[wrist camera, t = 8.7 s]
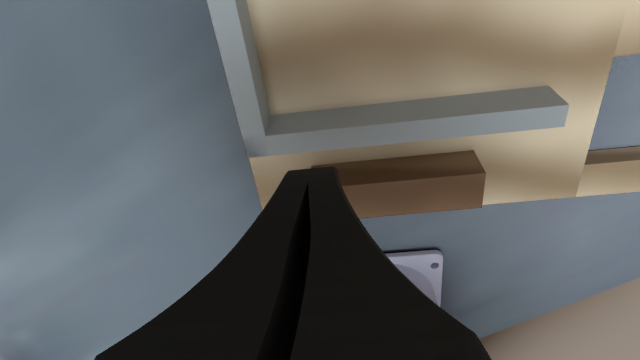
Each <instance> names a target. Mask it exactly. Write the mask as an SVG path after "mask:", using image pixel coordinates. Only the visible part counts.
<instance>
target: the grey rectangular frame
mask: <svg viewBox="0 0 640 360" xmlns="http://www.w3.org/2000/svg"><path fill="white" fill-rule="evenodd" d="M207 3H208V7H209V11H210V15H211V19H212V23H213V26H214V30H215V34H216V38H217V42H218V46H219V50H220V54H221V57H222V61H223V65H224V69H225V73H226V77H227V81H228V84H229V88H230V92H231V96H232V100H233V104H234V108H235V111H236V115H237V119H238V123H239V127H240V131H241V135H242V139H243V142H244V146H245V150H246V154H247V158H254V157H264V156H274V155H284V154H295V153H305V152H315V151H325V150H335V149H345V148H355V147H365V146H375V145H385V144H395V143H405V142H415V141H426V140H436V139H446V138H456V137H466V136H476V135H486V134H496V133H506V132H516V131H526V130H536V129H547V128H557V127H564V126H565V122H566V117H567V113H568V109H569V104H568V103H567V102H566V101H565V100H564V99H563V98H561V97H560V96H559V95H558V94H557V93H556V92H555V91H554V90H553V89H552V88H551V87H550V86H538V87H529V88H520V89H510V90H501V91H492V92H482V93H473V94H464V95H454V96H445V97H436V98H426V99H417V100H408V101H398V102H389V103H380V104H370V105H361V106H352V107H342V108H333V109H324V110H314V111H305V112H296V113H286V114H277V115H270V111H269V106H268V101H267V96H266V92H265V87H264V82H263V77H262V72H261V68H260V63H259V58H258V53H257V48H256V44H255V39H254V34H253V29H252V25H251V20H250V15H249V10H248V5H247V1H246V0H207Z"/></svg>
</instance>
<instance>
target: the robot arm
mask: <svg viewBox="0 0 640 360" xmlns="http://www.w3.org/2000/svg"><path fill="white" fill-rule="evenodd" d="M432 263H435V264H432ZM442 271H443V256H442V253H441V252H440V251H438V250H427V251H414V252H402V253H389V254H384V252H383V251H382V250H381V249H380V248H379V246H378V245H377V244H376V243H375V241H374V240H373V239H372V237H371V236H370V234H369V233H368V232H367V230H366V229H365V227H364V226H363V224H362V223H361V221H360V220H359V218H358V216H357V215H356V213H355V211H354V210H353V208H352V206H351V204H350V202H349V201H348V199H347V197H346V195H345V192H344V190H343V188H342V185H341V182H340V179H339V175H338V169H336V168H335V167H334V166H331V167H321V168H310V169H300V170H289V171H288V172H287V173H286V174H285V175H284V177H283V179H282V181H281V182H280V184H279V186H278V187H277V189H276V191H275V192H274V194H273V195H272V197H271V198H270V200H269V202H268V203H267V204H266V206H265V207H264V209H263V210H262V212H261V213H260V215H259V216H258V217H257V219H256V220H255V222H254V223H253V224H252V225H251V227H250V228H249V229H248V231H247V232H246V233H245V234H244V236H243V237H242V238H241V239H240V241H239V242H238V243H237V244H236V245H235V247H234V248H233V249H232V250H231V251H230V252H229V253H228V254H227V256H226V257H225V258H224V259H223V260H222V261H221V262H220V263H219V264H218V265H217V266H216V267H215V268H214V269H213V270H212V271H211V272H210V273H209V274H208V275H206V276H205V277H204V278H203V279H202V280H201V281H200V282H199V283H197V284H196V285H195V286H194V287H193V288H192V289H191V290H190V291H188V292H187V293H186V294H185V295H184V296H183V297H181V298H180V299H179V300H177V301H176V302H175V303H174V304H172V305H171V306H170V307H169V308H167V309H166V310H165V311H163V312H162V313H160V314H159V315H158V316H156V317H155V318H154V319H152V320H151V321H149V322H148V323H147V324H145V325H144V326H142V327H141V328H139V329H138V330H136V331H135V332H133V333H132V334H130V335H129V336H127V337H125V338H124V339H122V340H121V341H119V342H118V343H116V344H115V345H113V346H111V347H110V348H108V349H107V350H105V351H104V352H102V353H100V354H99V355H97V356H96V357H95V359H94V360H491V358H490V356H489V355H488V353H487V351H486V350H485V348H484V346H483V345H482V343H481V342H480V340H479V338H478V337H477V335H476V334H475V333H474V332H473V331H471V330H470V329H468V328H467V327H466V326H464V325H463V324H461V323H460V322H459V321H457V320H456V319H455V318H453V317H452V316H451V315H449V314H448V313H447V312H446V311H444V310H443V309H442V308H440V306H441V289H442Z"/></svg>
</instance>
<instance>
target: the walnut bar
mask: <svg viewBox="0 0 640 360" xmlns="http://www.w3.org/2000/svg"><path fill="white" fill-rule="evenodd" d="M331 166H334V167H335V168H336V169H338V175H339V179H340V182H341V185H342V188H343V190H344V192H345V195H346V197H347V199H348V201H349V202H350V204H351V206H352V208H353V210H354V211H355V213H356V215H357V216H358V218H368V217H379V216H391V215H403V214H414V213H426V212H438V211H449V210H461V209H473V208H482V204H483V195H484V187H485V178H486V172H485V170H484V168H483V166H482V165H481V163H480V161H479V159H478V157H477V155H476V154H475V152H474V150H469V151H459V152H449V153H438V154H428V155H418V156H407V157H397V158H387V159H376V160H366V161H356V162H345V163H335V164H325V165H314V166H311V168H321V167H331Z"/></svg>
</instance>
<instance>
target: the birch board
mask: <svg viewBox="0 0 640 360" xmlns="http://www.w3.org/2000/svg"><path fill="white" fill-rule="evenodd" d="M246 1H247V5H248V10H249V15H250V20H251V25H252V29H253V34H254V39H255V44H256V48H257V53H258V58H259V63H260V68H261V72H262V77H263V82H264V87H265V92H266V96H267V101H268V106H269V111H270V115H277V114H286V113H296V112H305V111H314V110H324V109H333V108H342V107H352V106H361V105H370V104H380V103H389V102H398V101H408V100H417V99H426V98H436V97H445V96H454V95H464V94H473V93H482V92H492V91H501V90H510V89H520V88H529V87H538V86H550V87H551V88H552V89H553V90H554V91H555V92H556V93H557V94H558V95H559V96H560V97H561V98H563V99H564V100H565V101H566V102H567V103H568V104H569V109H568V113H567V117H566V122H565V126H564V127H557V128H547V129H536V130H526V131H516V132H506V133H496V134H486V135H476V136H466V137H456V138H446V139H436V140H426V141H415V142H405V143H395V144H385V145H375V146H365V147H355V148H345V149H335V150H325V151H315V152H305V153H295V154H284V155H274V156H264V157H254V158H249V160H250V164H251V167H252V171H253V175H254V179H255V183H256V187H257V191H258V195H259V199H260V203H261V206H262V210H263V209H264V207H265V206H266V204H267V203H268V202H269V200H270V198H271V197H272V195H273V194H274V192H275V191H276V189H277V187H278V186H279V184H280V182H281V181H282V179H283V177H284V175H285V174H286V173H287V172H288V171H289V170H300V169H310V168H311V166H314V165H325V164H335V163H345V162H356V161H366V160H376V159H387V158H397V157H407V156H418V155H428V154H438V153H449V152H459V151H469V150H474V152H475V154H476V155H477V157H478V159H479V161H480V163H481V165H482V166H483V168H484V170H485V172H486V178H485V187H484V195H483V204H482V205H487V204H499V203H510V202H522V201H534V200H545V199H557V198H568V197H580V196H592V195H603V194H615V193H626V192H638V191H640V146H636V147H625V148H615V149H604V150H593V151H588V149H589V146H590V142H591V138H592V135H593V131H594V127H595V124H596V120H597V116H598V113H599V109H600V105H601V101H602V98H603V94H604V90H605V87H606V83H607V79H608V76H609V72H610V68H611V65H612V61H613V57H616V56H625V55H634V54H640V0H246Z"/></svg>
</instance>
